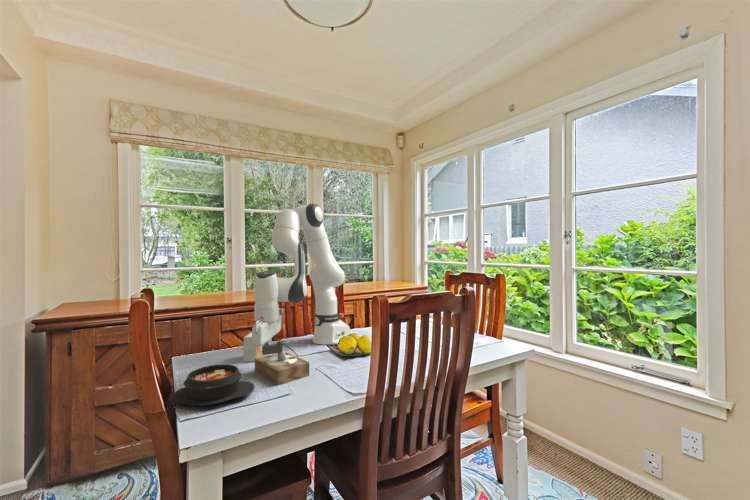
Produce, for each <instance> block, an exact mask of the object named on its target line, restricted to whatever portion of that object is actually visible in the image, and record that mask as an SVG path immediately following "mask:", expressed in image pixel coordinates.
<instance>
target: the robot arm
mask: <svg viewBox="0 0 750 500" xmlns="http://www.w3.org/2000/svg"><path fill="white" fill-rule="evenodd" d="M323 221H324V212H323V209H322V208H321V207H320V206H319V205H318V204H316V203H308V204H304V205H298V206H295V207H292V208H290V209H288V208H286V209H282V210H281V211H279V213H278V215H277V217H276V219H275V223H274V226H273V228H272V234H271V243H272V246H273V247H274V248H275V249H276V250H277V251H278V252H280V253H282V254H284V255H287V256H290V257H292V258H293V259H294V260H293V261H294V262H293V263H294V276H292V277H280V276H279V277H278V276H277V273H276V271H272V270H265V271H260V272H258V273H256V275H255V277H254V284H253V297H254V307H253V308H254V309H253V310H254V311H253V312H254V320H255V324H253V326H252V328H251V333H252V345H253V346H262V345H270V344H272V340H273V339H272V338H273V337H274V336H275V335H277V334H278V333H280V331H281V329H282V318H283V317H282V315H283V308H280V307H279V302H281V303H282V302H284V303H287V302H288V303H295V304H300V303H301V302H303V300H305V298H307V296H308V284H307V282H308V281H307V272H306V271H307V269H306V251H305V247H304V244H303V243H302V242H300V240H299V239H300V238H299V235H300V231H303V235H304V237H303V238H304V241H305V245H306V247H307V252H308V255H309V257H310V259H311V260H312V261H313V263H314V266H312V267H311V268H310V269H309V274H308V276H309V279H310V281H311V284H312V288H313V293H314V298H315V299H314V300H315V301H314V302H315V313H314V332H313V337H312V343H314V344H317V345H335V344H337V345H339V344H338V341H339V339H340V338H341V337H343V336H345V335H348V334H350V333H351V329H350V326H349V325H348V324H347V323H346V322H344V321H343V320H341V318H344V316H345V314H344V313H343V312H342V313H341V312H338V297H337V294H336V292H335V291H334V288H337V287H340V286H342V285H343V283H344V281H345V279H346V275H345V272H344V270H343V269H342V268H341V267H340V265H339V264H338V262H337V260H336V258H335V255H334V254H333V251H332V248H331V246H330V245H331V244H330V241H329V238H328V234H327V232H326V229H325V225H324V223H323Z"/></svg>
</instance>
